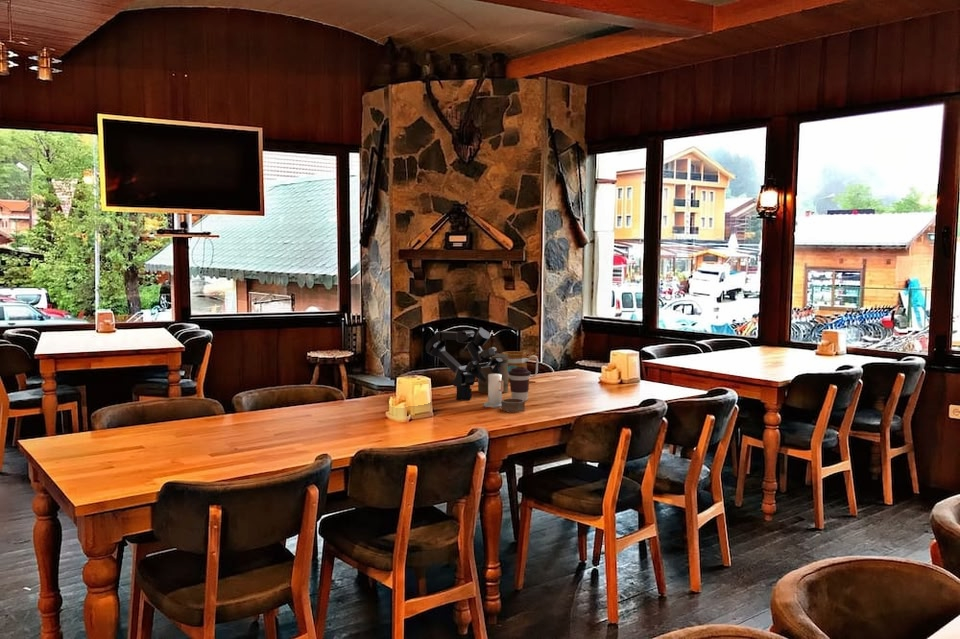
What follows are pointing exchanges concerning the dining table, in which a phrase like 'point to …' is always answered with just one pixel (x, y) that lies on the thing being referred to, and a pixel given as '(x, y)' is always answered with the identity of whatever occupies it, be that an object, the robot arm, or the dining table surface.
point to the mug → (519, 361)
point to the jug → (495, 389)
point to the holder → (513, 405)
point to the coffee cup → (519, 382)
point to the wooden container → (486, 370)
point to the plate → (491, 405)
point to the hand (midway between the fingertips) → (493, 380)
